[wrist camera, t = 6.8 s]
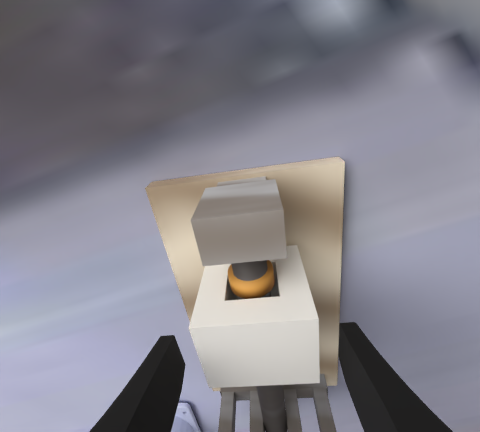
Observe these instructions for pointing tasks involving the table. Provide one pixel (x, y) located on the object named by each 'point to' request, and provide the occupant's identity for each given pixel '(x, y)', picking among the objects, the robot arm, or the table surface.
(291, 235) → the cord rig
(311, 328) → the cord end block
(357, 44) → the table surface
